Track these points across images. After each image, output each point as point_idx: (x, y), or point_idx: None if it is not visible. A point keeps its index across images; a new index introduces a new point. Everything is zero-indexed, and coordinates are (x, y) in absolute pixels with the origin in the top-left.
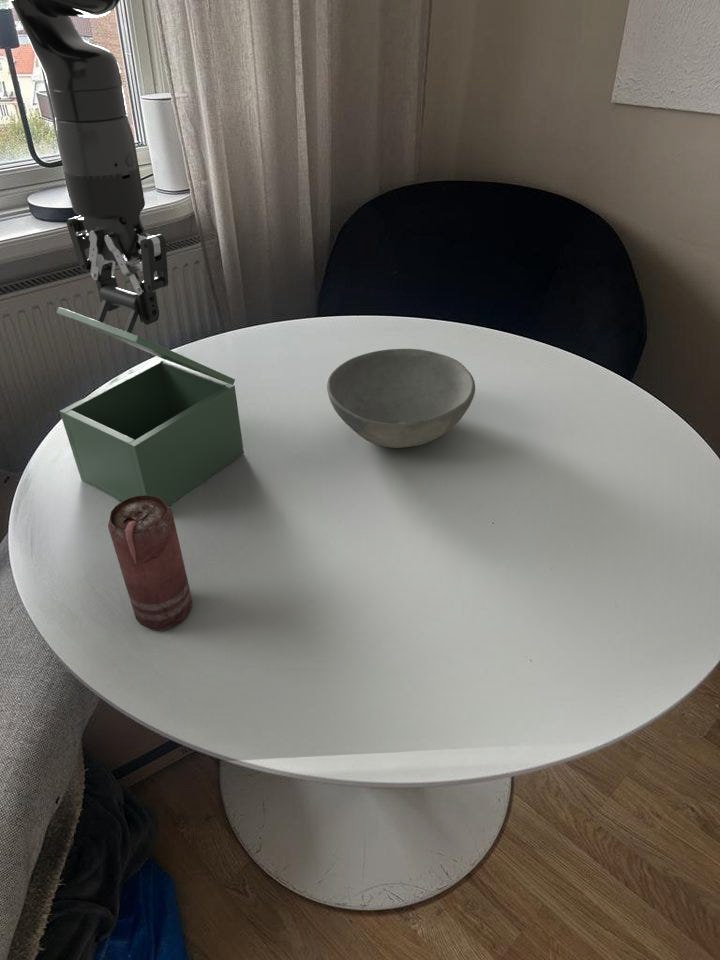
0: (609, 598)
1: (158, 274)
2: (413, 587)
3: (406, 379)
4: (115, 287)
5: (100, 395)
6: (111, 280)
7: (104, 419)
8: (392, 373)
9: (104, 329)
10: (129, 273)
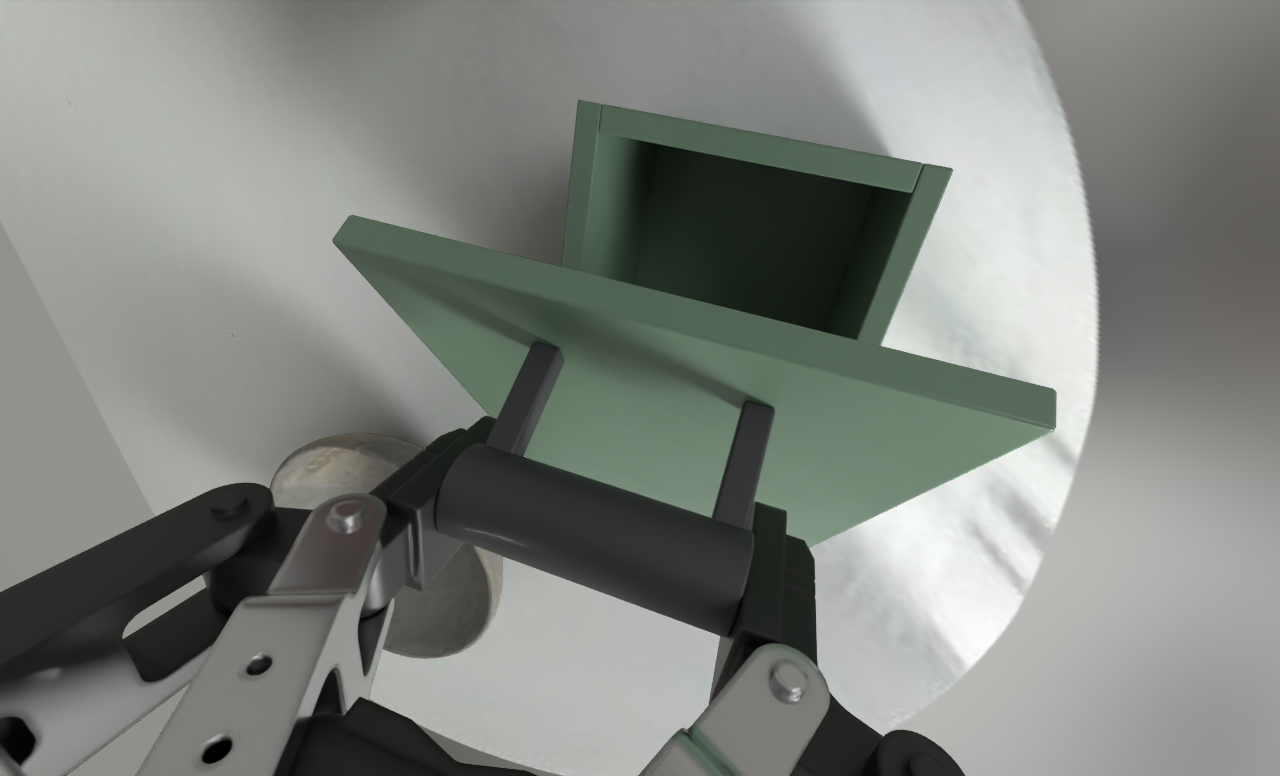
0: (85, 249)
1: (222, 629)
2: (222, 164)
3: (442, 601)
4: (642, 599)
5: (865, 313)
6: (719, 672)
7: (859, 286)
8: (458, 610)
9: (574, 275)
10: (277, 595)
